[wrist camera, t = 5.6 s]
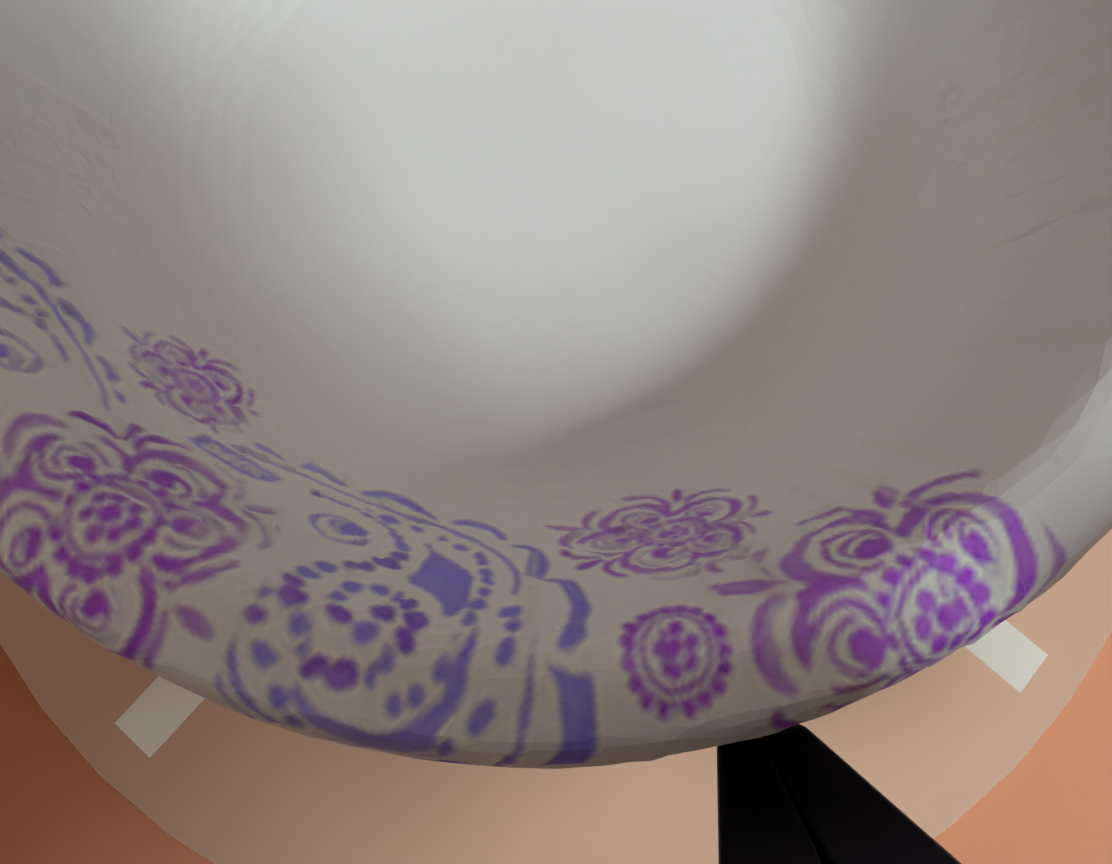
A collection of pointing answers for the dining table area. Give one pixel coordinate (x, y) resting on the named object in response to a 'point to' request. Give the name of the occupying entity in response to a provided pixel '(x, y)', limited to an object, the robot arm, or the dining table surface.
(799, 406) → the white floral bowl
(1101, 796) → the dining table surface
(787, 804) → the robot arm
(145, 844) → the dining table surface
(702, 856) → the centring plate
